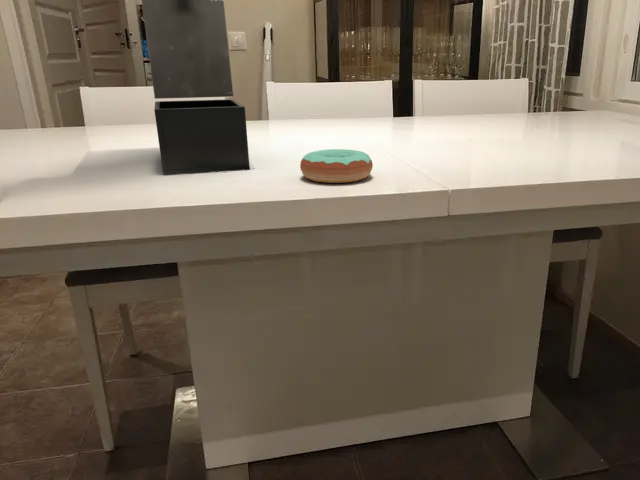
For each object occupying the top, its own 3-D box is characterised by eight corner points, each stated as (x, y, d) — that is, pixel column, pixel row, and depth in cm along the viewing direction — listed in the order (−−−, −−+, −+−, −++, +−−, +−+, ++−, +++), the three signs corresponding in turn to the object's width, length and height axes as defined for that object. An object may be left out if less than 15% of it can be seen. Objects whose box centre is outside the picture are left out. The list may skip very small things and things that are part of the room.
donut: (387, 179, 91) (387, 154, 89) (323, 189, 85) (323, 162, 83) (347, 167, 100) (347, 145, 99) (288, 175, 94) (286, 151, 92)
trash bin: (249, 169, 99) (244, 106, 95) (163, 175, 95) (154, 109, 91) (238, 154, 114) (233, 99, 110) (162, 158, 109) (155, 101, 105)
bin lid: (223, -1, 105) (221, 7, 111) (141, -3, 101) (142, 5, 106) (233, 96, 109) (230, 99, 114) (154, 98, 105) (155, 101, 110)
